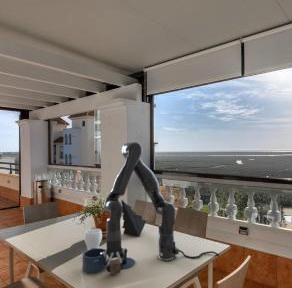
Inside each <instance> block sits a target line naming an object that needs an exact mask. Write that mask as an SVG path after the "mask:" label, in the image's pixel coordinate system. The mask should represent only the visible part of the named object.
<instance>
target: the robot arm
mask: <svg viewBox="0 0 292 288" xmlns="http://www.w3.org/2000/svg"><path fill="white" fill-rule="evenodd" d="M121 153H122V155H123V157H124V159H125V162H124V165H123V166H122V167H121V170H120V171H119V172H118V174H117V176H116V177H115V180H114V182H113V186H112V189H111V191H110V192H109V193H108V195H107V197H106V199H105V201H104V204H103V208H104V210H105V212H107V213H109V214H110V215H109V217H108V218H107V220H106V233H105V235H106V239H105V240H106V241H105V243H106V249H105V250H106V252H103V253H102V252H101V253H100V254H101V258H102V261H103V264H104V265H107V267H106V271H107V272H108V274H110V262H111V260H114V259H119V262H120V271H121V270H123V269H122V262H123V261H125V260H126V255H127V256H128V249H127V247H124V248H122V230H121V221H122V220H121V219H122V217H123V213H122V211H123V206H122V202H121V200H119V199H120V197H123V196H125V194H126V191H127V188H128V184H129V182H130V179H131V177H132V174H133V173H135V175H136V178H137V179H138V180H139V183H140V184H141V186H142V188H143V189H144V191H145V192H146V194H147V196H148V198H149V199H150V201H151V203H152V205H153V207H154V210H155V212H156V214H157V215H158V216H160V217H161V222H159V224H158V259H160V260H161V261H163V262H168V261H172V260H174V259H176V255H179V253H181V254H182V255H183V257H185V258H187V259H198V258H199V259H200V258H201V257H202V256H203V255H207V254H214V255H216V256H220V254H218V252H216V251H213V250H212V251H203V252H201V253H200V254H199V255H196V256H190V255H187V254H185V253H184V251H183V250H181V249H179V248H178V247H177V246H176V241H175V224H176V207H175V205H174V204H173V203H171V202H169V201H167V200H165V198H164V197H163V195H162V193H161V189H160V184H159V181H158V179H157V177H156V175H155V173H154V172H153V171H152V169H150V168H149V167H148V166H147V165H146V164H145V163H144V162H143V161H142V159H141V157H142V154H143V145H141V143H140V142H137V141H133V142H127V143H124V144H123V145H122V147H121ZM122 251H123V257H122V258H121V257H120V254H121V252H122ZM106 254H107V262H106V261H105V258H104V257H105V255H106ZM222 279H223V280H224V277H223V276H221V278H220V280H222Z"/></svg>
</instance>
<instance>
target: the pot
mask: <svg viewBox="0 0 292 288" xmlns="http://www.w3.org/2000/svg"><path fill="white" fill-rule="evenodd" d="M101 252H102V253H103V252H106V249H105V248H101V247H99V248H92V249H90V250H88V249H87V250H86V251H83V253H82V272H84V273H86V274H97V273H101V272H103V271H105V270H107V265H104V264H103V261H102V258H101V254H100V253H101ZM104 258H105V261H106V262H107V259H108V255H107V254H106V255H105V257H104Z"/></svg>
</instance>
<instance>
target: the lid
mask: <svg viewBox="0 0 292 288" xmlns="http://www.w3.org/2000/svg"><path fill="white" fill-rule="evenodd" d="M120 257H121V258H122V257H123V251H122V252H121V254H120ZM117 259H118V258H117ZM118 260H119V259H118ZM135 264H136V260H135V259H134V258H132V257H128V254H127V255H126V260H125V261H123V262H122V269H121V270H127V269H130V268H132V267H134V266H135Z"/></svg>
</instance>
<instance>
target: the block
mask: <svg viewBox="0 0 292 288" xmlns="http://www.w3.org/2000/svg"><path fill="white" fill-rule="evenodd" d="M120 273H121V270H120V262H119V260H118V258H114V259H111V262H110V273H109V274H110V276H111V275H115V274H120Z"/></svg>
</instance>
